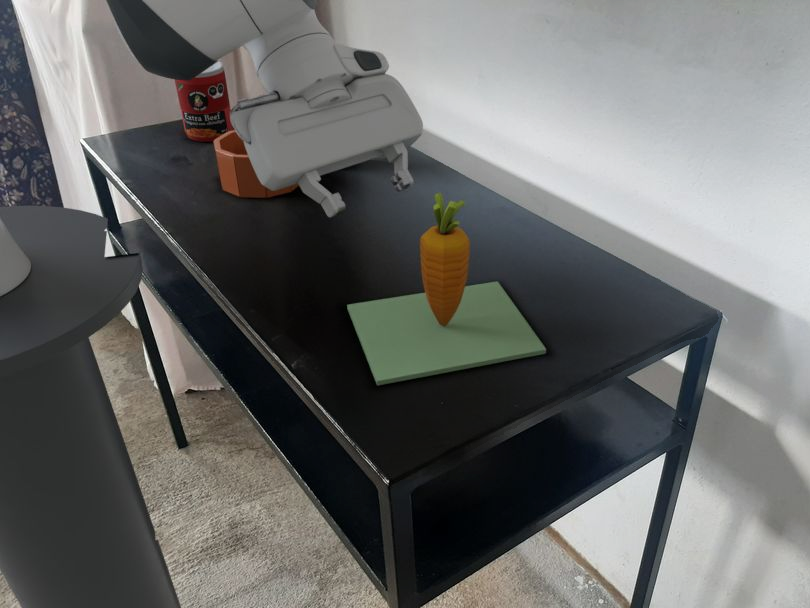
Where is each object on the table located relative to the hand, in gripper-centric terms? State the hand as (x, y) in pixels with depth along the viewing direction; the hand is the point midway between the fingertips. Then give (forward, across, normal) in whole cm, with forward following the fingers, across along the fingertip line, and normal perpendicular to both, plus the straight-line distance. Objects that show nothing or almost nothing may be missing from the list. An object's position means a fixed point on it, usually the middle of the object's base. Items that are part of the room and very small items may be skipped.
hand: (373, 200), depth 77 cm
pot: (-16, +8, +33) cm, 38 cm away
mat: (+16, 0, +1) cm, 16 cm away
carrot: (+15, 0, 0) cm, 15 cm away
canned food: (-31, +12, +48) cm, 59 cm away
